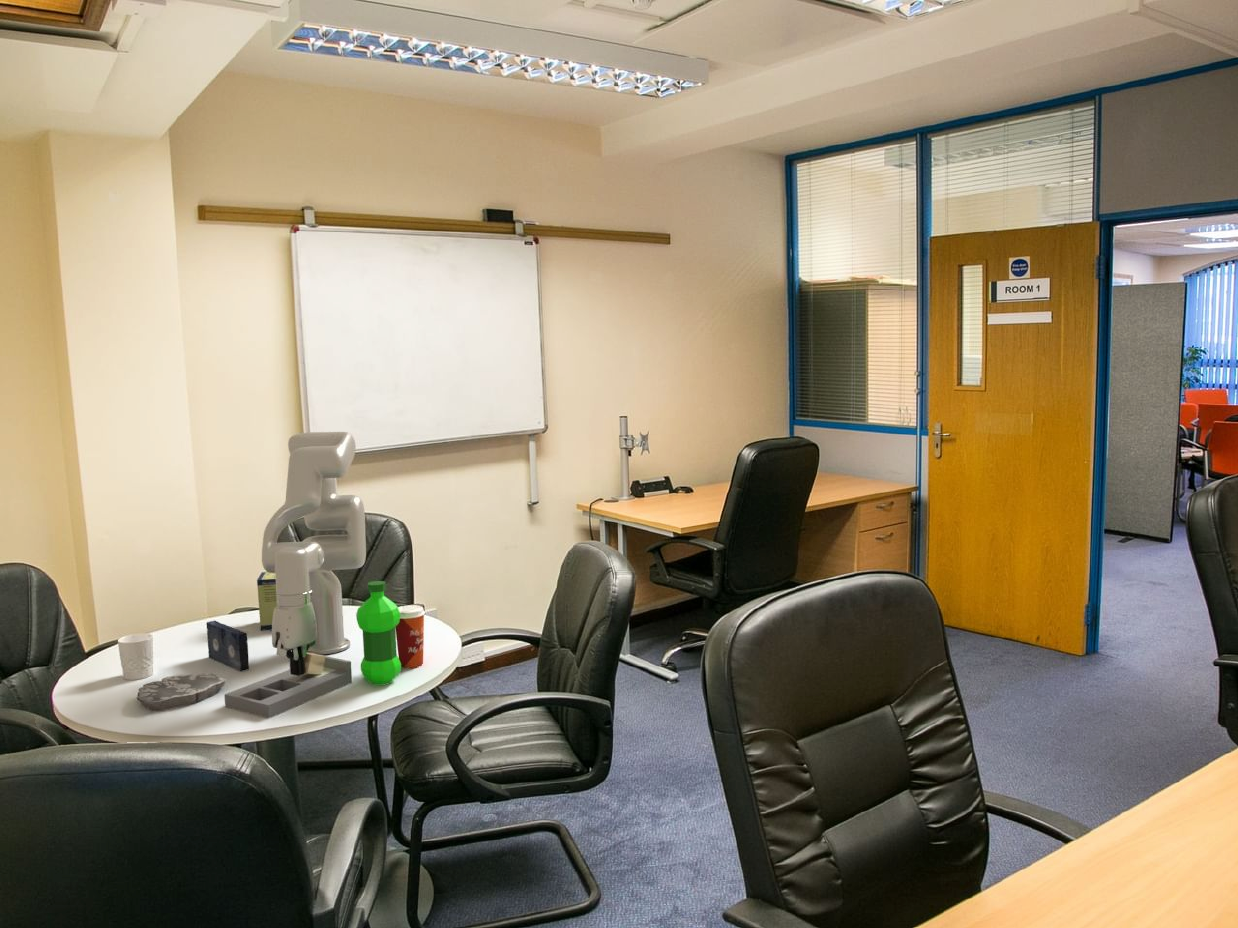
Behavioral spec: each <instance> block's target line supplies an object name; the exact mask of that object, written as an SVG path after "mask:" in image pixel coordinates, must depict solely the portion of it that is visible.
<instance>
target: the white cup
mask: <svg viewBox="0 0 1238 928" xmlns="http://www.w3.org/2000/svg"><path fill="white" fill-rule="evenodd" d="M117 643H118V645H117V646H118V653H119V660H120V665H121V668H122V676H123V679H125V680H127V681H128V680H129V681H137V680H141V679H142V680H143V679H146V678H148V677H151V676H152V675H153V673H154V646H153V645H154V643H153V634H151V633H147V632H146V633H134V634H130V635H129V634H127V635H125V636H122V637H120V638H118V639H117Z"/></svg>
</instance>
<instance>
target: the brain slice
mask: <svg viewBox="0 0 1238 928" xmlns="http://www.w3.org/2000/svg"><path fill="white" fill-rule="evenodd" d="M225 683H226V679H225V678H224V677H223V676H221V675H218V674H214V673H190V674H189V673H188V674H187V673H186V674H176V675H171V676H166V677H163V678H162V679H161V680H156V681H155V680H154V681H152V682H146V683H145V684H143V685H142V686H141V687H139V688H138V692H137V695H136V700H137V701H138V702H139V703H140V704H141V705H143V706H144V707H147V708H148V709H149V710H150V711H157V712H158V711H167V710H171V709H176V708H180V707H185V706H188V705H191V704H194V703H199V702H202V701H205V700H206V699H208V698H211V697H212V696H215V695H217V694H218V693H219V692H220V691H221V690H222V688H223V687H224V686H225Z"/></svg>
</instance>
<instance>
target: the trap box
mask: <svg viewBox="0 0 1238 928" xmlns="http://www.w3.org/2000/svg"><path fill="white" fill-rule="evenodd" d="M325 656H326V655H325ZM352 677H353V675H352V661H350V660H346V659H342V658H338V657H337V658H335V657H331V656H326V657H325V662H324V666H323V671H322V675H321V674H307V673H305V674H303V675H300V676H296V675H292V674H291V672H290V668H289V669H287V670H285V671H281V672H280V673H276V674H274V675H271V676H269V677H266V678H263V679H261V680H259V681H255V682H253V683H251V684H248V685H246V686H243V687H240V688H238V689H235V690H234V689H233V691H229V692H227V693H225V694H224V707H225V708H228V709H232V710H236V711H239V712H240V711H241V712H245V713H248V714H252V715H257V716H259V717H262V718H263V717H264V718H268V719H270V718H273V717H275V716H278V715H280V714H282V713H284V712H287V711H289V710H291V709H294V708H296V707H299V706H301V705H303V704H305V703H306V704H307V703H308V702H310V701H313V700H315V699H317V698H320V697H322V696H325V695H327V694H330V693H331V692H334V691H336V690H338V689H340V688H344V687H345V686H348V685H350V684H352V683H353V678H352Z"/></svg>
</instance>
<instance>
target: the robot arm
mask: <svg viewBox="0 0 1238 928" xmlns="http://www.w3.org/2000/svg"><path fill="white" fill-rule="evenodd" d="M355 441H356V440H355V438H354V436H353V434H351V433H350V432H348V431H321V432H320V431H319V432H318V431H316V432H315V431H314V432H301V433H300V432H299V433H295V434H294V435H292V436H290V437H289V438H288V442H287V446H288V452H289V458H288V468H287V480H286V491H285V492H286V493H285V502H284V503H283V505H282V506H280V507H279V508H278V510H276V512H274V514H273V515H272V516H271V517H270V519H269V520H268V522H267V524H266V526H265V527H264V531H263V535H262V536H263V537H262V547H261V564H262V567H263V569H264V570H265V572H269V573H275V577H276V594H277V607H275V608H274V612H273V620H272V630H271V644H272V647H273V648H274V649H276V655H277V656H280V657H281V656H282V657H284V656H285V657H286V658H287V659H288V660H289V669H290V672H291V674H292V675H296V676H300V675H303V674H305V665H304V658H305V657H306V655H307V653H314V654H318V655H329V654H336V653H339V652H342V651H345V650H347V649H349V647H350V646H351V640H350V639H349V638H346V637H345V630H344V628H345V627H344V614H343V612H344V611H343V593H342V584H341V582H340V580H339V578H338V576H337V575H336V574H335V573H334V572H333V571H338V570H353V569H354V570H356V569H359V568H363V566H364V564H365V562H366V558H367V544H366V543H367V541H366V518H365V517H366V516H365V515H366V514H365V505H364V503H363V501H362V499H361V498H360V497H359V496H357V495H354V494H353V495H352V494H340V495H339V494H337V491H336V489H337V488H336V487H337V486H336V485H337V483H336V479H341V478H344V477H345V476H346V475H347V474H348V472H349V470H350V467H351V465H352V463H353V461H354V458H355V454H356V449H357V448H356V442H355ZM302 518H304V523H305V526H306V527H307V529H309V530H313V531H336V530H337V531H339V530H341V531H342V530H345V531H346V532H347V534H324V535H313V536H309V537H306V538H305V539H303V540H302V541H289V542H288V541H283V542H278V540H279V539H278V538H279V536H280V535H281V533H282V531H283V530H284V529H285V528H286V527H287V526H289V525H290V524H291V523H294V522H295V521H298V520H300V519H302Z"/></svg>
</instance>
